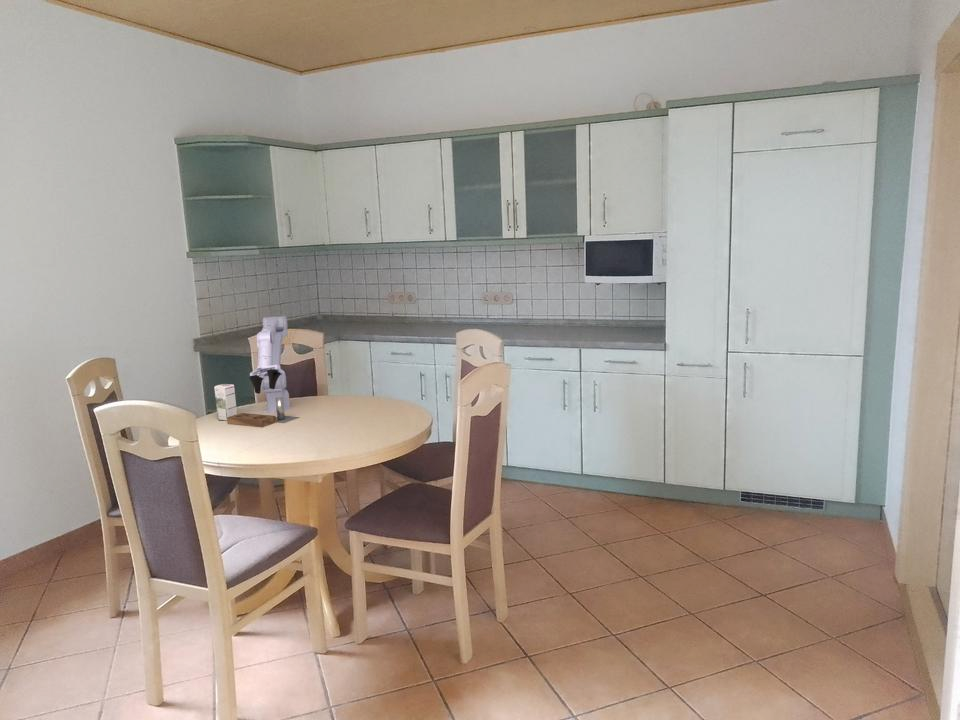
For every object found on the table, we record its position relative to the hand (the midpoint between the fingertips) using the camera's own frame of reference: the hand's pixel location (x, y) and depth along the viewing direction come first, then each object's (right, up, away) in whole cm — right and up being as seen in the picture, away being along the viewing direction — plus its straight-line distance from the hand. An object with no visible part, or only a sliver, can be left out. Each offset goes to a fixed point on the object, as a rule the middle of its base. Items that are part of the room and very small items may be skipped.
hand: (264, 390), depth 280 cm
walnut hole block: (-5, -13, +1) cm, 14 cm away
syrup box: (-19, -12, +11) cm, 25 cm away
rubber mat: (+6, -12, +6) cm, 14 cm away
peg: (+5, -12, +5) cm, 14 cm away
